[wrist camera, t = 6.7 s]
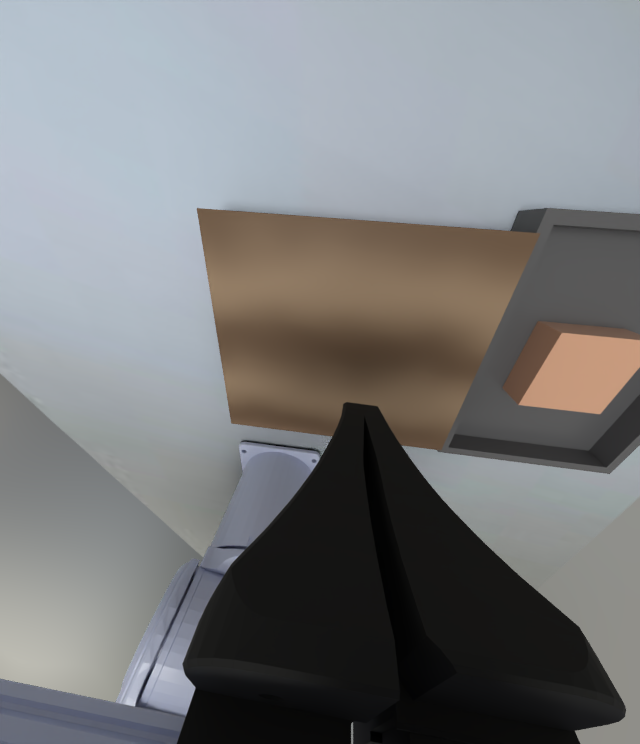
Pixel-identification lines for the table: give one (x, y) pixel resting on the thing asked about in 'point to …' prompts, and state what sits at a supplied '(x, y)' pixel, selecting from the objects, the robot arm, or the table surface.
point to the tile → (573, 367)
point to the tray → (561, 305)
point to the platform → (355, 317)
